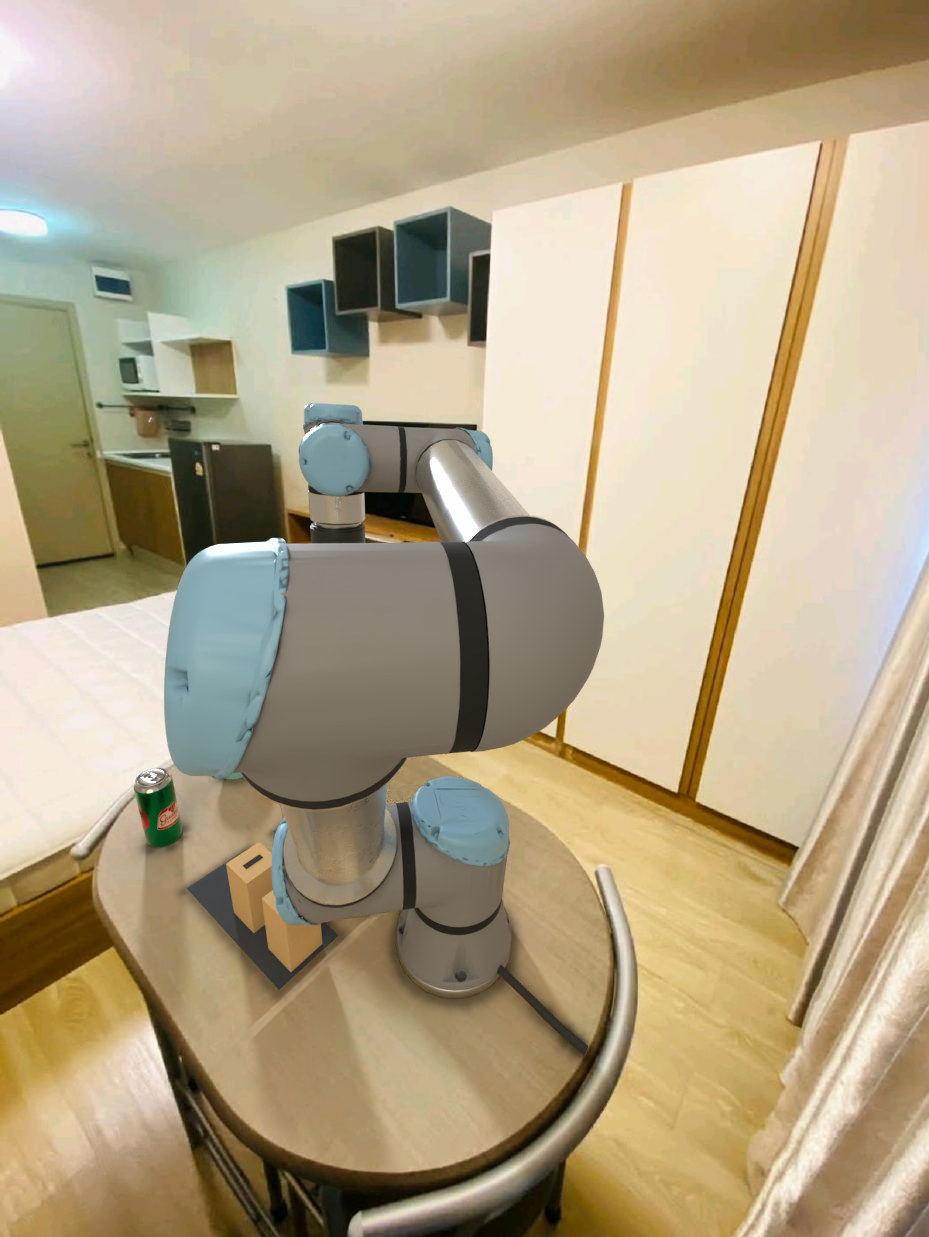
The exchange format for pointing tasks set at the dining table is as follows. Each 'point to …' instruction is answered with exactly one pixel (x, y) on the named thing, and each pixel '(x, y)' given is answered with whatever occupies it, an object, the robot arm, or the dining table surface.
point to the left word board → (238, 932)
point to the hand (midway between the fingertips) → (343, 658)
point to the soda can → (158, 807)
